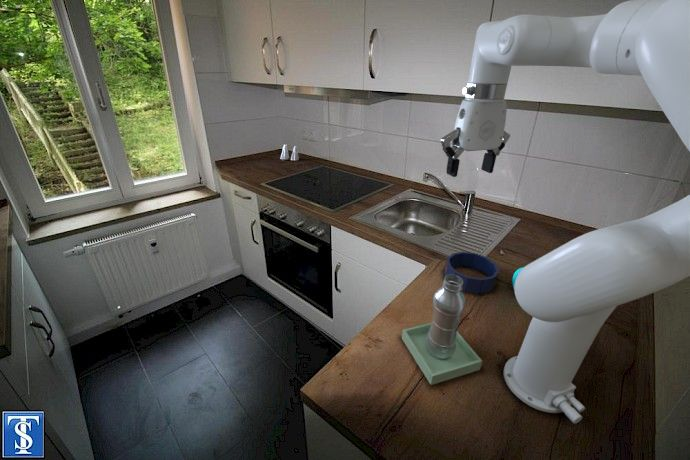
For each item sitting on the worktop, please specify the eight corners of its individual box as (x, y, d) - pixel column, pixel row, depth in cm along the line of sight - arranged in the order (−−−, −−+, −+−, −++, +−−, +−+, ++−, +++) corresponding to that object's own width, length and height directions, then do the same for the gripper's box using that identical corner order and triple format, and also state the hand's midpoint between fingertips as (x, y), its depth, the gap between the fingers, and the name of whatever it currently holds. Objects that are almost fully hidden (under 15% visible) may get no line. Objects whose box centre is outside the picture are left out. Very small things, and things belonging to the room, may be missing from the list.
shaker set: (280, 161, 211) (279, 145, 206) (281, 159, 215) (279, 143, 210) (298, 161, 212) (297, 144, 207) (298, 159, 216) (297, 143, 211)
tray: (479, 369, 68) (482, 361, 67) (430, 385, 65) (432, 376, 63) (445, 326, 79) (446, 318, 78) (401, 338, 76) (402, 329, 74)
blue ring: (505, 287, 93) (509, 274, 91) (463, 297, 89) (467, 283, 87) (473, 261, 105) (476, 249, 103) (435, 269, 101) (437, 256, 99)
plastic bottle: (434, 366, 68) (448, 293, 59) (419, 342, 74) (430, 272, 64) (460, 359, 69) (478, 287, 60) (443, 336, 75) (458, 267, 66)
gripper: (460, 95, 59) (446, 182, 67) (532, 93, 64) (511, 174, 72) (438, 92, 65) (428, 171, 73) (505, 90, 70) (488, 165, 78)
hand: (469, 173), depth 73 cm, fingers open, 9 cm apart
